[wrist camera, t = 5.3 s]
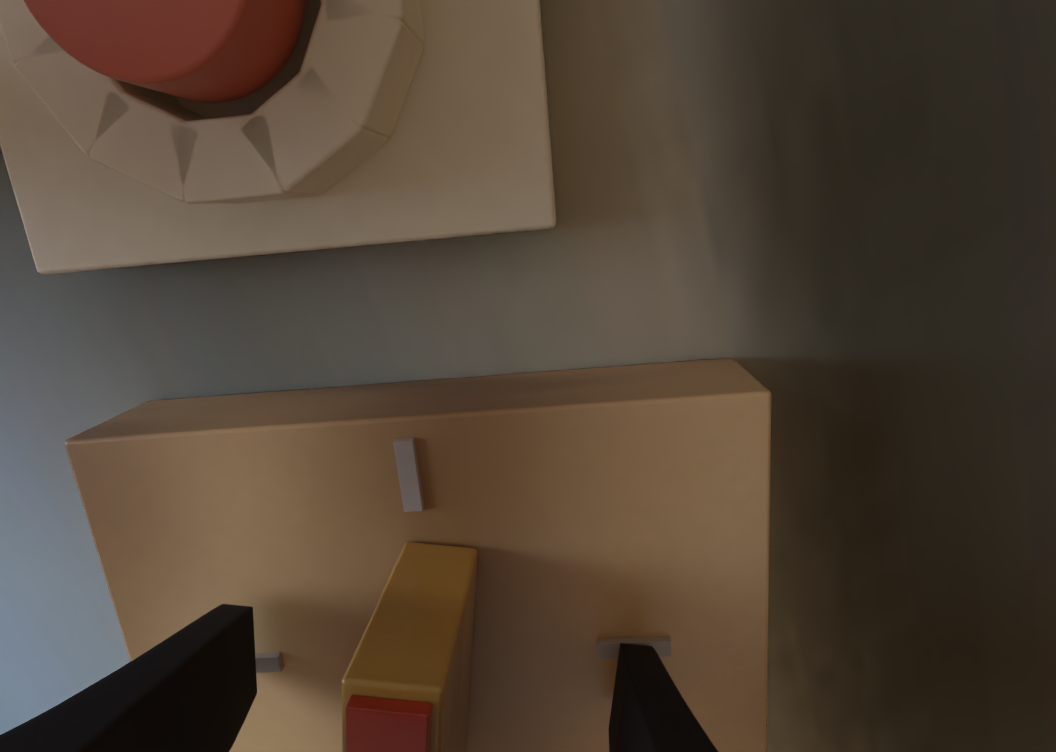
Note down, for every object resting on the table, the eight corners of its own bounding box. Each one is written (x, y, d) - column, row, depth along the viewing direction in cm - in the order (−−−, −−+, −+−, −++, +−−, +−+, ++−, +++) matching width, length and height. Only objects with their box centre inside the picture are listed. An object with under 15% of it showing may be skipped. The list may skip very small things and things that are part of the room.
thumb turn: (466, 758, 13) (428, 976, 9) (399, 750, 13) (336, 964, 9) (478, 546, 12) (440, 704, 8) (404, 539, 12) (333, 693, 8)
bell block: (89, 268, 13) (-42, 285, 10) (-33, -180, 11) (-239, -314, 8) (556, 225, 13) (555, 232, 10) (520, -262, 10) (504, -439, 8)
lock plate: (240, 756, 17) (181, 856, 14) (146, 399, 14) (54, 443, 11) (735, 741, 16) (769, 845, 13) (734, 356, 13) (776, 393, 11)
